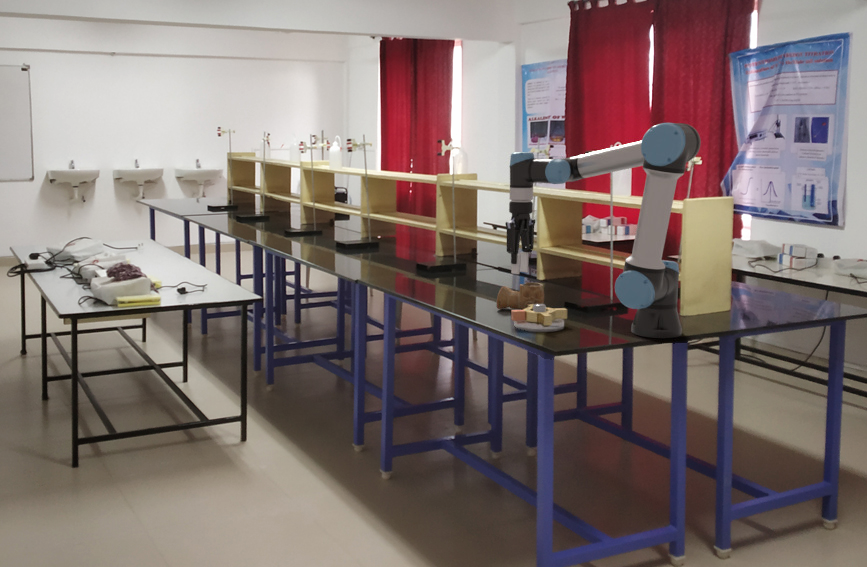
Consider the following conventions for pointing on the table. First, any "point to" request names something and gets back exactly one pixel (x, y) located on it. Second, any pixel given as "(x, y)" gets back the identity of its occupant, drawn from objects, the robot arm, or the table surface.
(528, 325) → the star wheel turntable
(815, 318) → the table surface
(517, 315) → the star wheel
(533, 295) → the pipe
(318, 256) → the table surface
